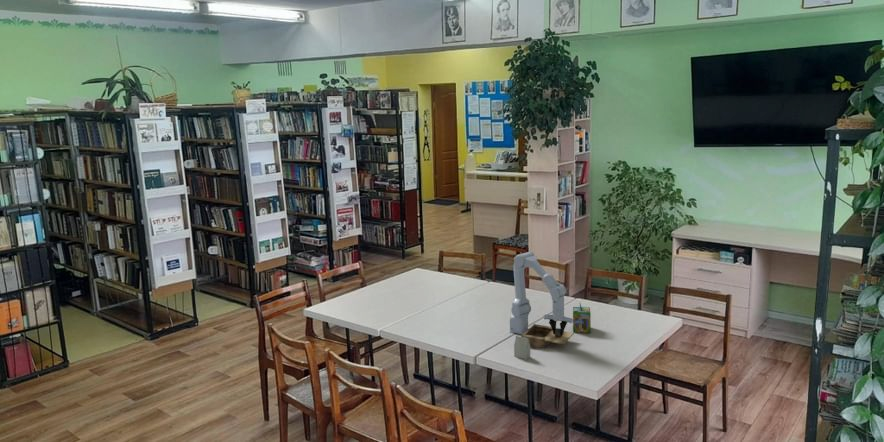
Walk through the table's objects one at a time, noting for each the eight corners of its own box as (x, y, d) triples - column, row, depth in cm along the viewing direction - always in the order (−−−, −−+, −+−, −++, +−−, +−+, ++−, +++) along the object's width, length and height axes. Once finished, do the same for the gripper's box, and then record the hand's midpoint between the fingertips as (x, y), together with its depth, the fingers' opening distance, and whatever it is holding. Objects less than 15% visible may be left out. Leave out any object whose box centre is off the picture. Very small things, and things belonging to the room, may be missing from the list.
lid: (542, 340, 304) (542, 332, 303) (552, 330, 317) (552, 322, 316) (564, 344, 299) (564, 336, 298) (573, 334, 311) (573, 326, 311)
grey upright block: (526, 359, 292) (526, 340, 290) (514, 356, 296) (514, 336, 294) (530, 357, 294) (530, 337, 292) (518, 353, 299) (518, 334, 297)
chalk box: (590, 333, 321) (591, 306, 318) (572, 332, 323) (573, 306, 320) (590, 326, 330) (590, 300, 327) (572, 326, 332) (572, 300, 329)
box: (521, 345, 309) (521, 335, 308) (534, 332, 324) (534, 324, 323) (543, 349, 303) (543, 339, 302) (555, 336, 318) (556, 327, 317)
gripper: (541, 309, 305) (541, 334, 308) (569, 313, 298) (569, 339, 300) (546, 304, 311) (546, 330, 314) (574, 308, 304) (574, 334, 306)
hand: (558, 334), depth 307 cm, fingers closed on lid, 3 cm apart
